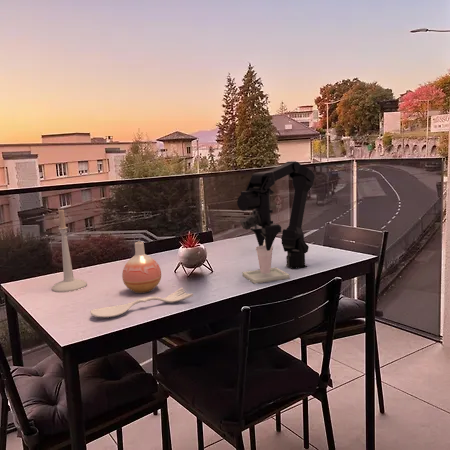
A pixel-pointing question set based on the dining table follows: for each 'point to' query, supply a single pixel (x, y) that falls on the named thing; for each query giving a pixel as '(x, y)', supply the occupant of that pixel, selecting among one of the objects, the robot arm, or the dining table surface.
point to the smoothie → (264, 259)
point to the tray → (265, 276)
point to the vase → (141, 271)
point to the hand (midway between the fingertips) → (264, 248)
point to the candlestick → (66, 263)
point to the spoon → (121, 309)
